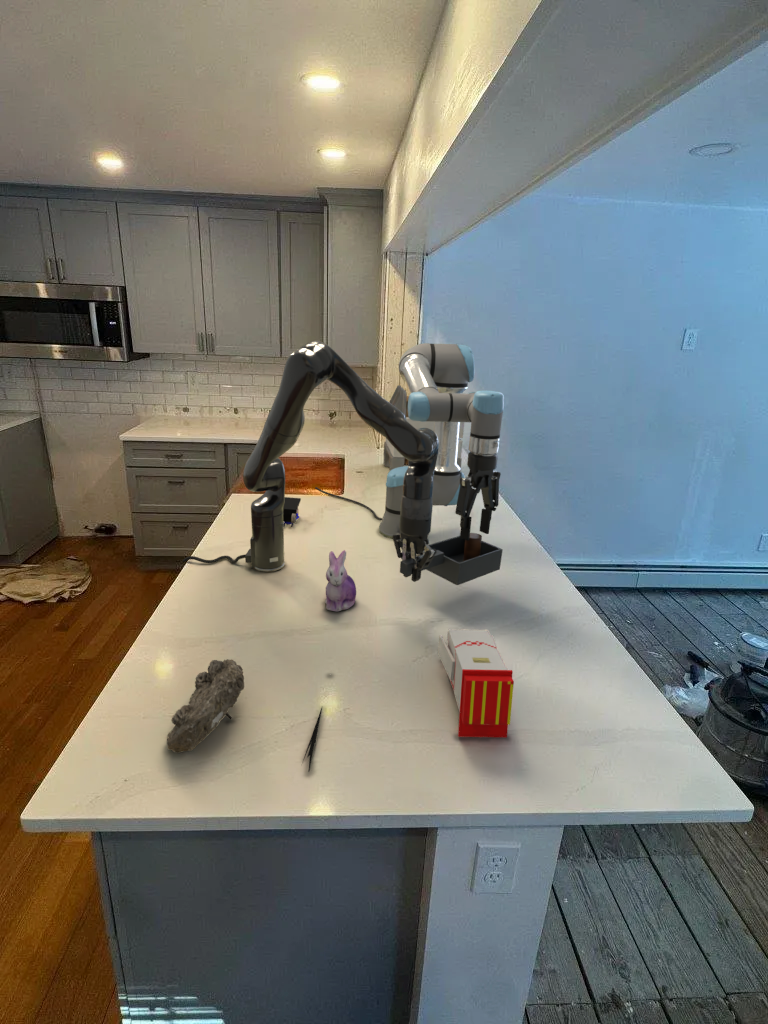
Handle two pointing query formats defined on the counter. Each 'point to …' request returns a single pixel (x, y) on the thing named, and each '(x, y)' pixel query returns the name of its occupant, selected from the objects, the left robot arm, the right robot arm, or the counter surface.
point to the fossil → (206, 705)
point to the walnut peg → (472, 546)
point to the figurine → (339, 584)
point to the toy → (478, 682)
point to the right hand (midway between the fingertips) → (474, 535)
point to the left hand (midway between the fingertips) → (411, 578)
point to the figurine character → (290, 510)
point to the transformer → (401, 402)
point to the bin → (458, 561)
